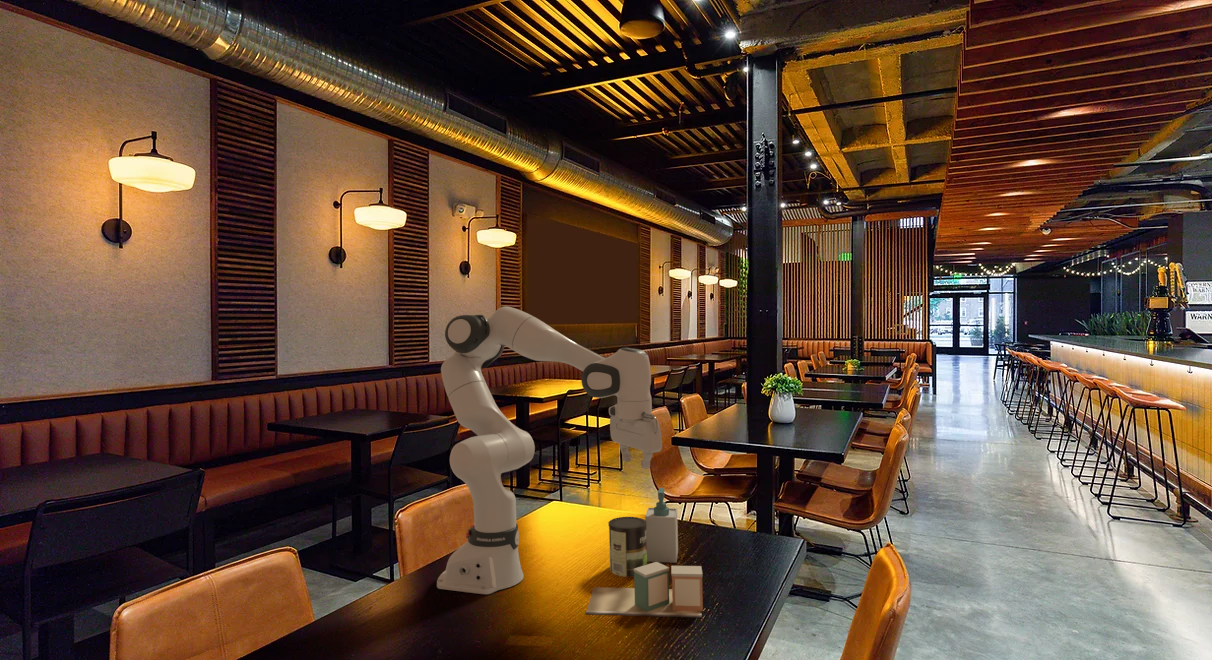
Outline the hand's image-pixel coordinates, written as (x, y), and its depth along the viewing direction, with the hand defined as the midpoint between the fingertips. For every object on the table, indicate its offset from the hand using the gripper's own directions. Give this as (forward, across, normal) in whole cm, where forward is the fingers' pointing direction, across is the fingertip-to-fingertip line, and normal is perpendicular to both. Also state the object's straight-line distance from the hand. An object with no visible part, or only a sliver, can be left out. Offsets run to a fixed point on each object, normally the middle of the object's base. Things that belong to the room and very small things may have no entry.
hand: (635, 464), depth 151 cm
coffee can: (+31, +8, -1) cm, 32 cm away
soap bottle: (+31, +13, -16) cm, 38 cm away
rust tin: (+30, -18, -2) cm, 35 cm away
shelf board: (+31, -11, +5) cm, 33 cm away
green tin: (+30, -13, +4) cm, 33 cm away
